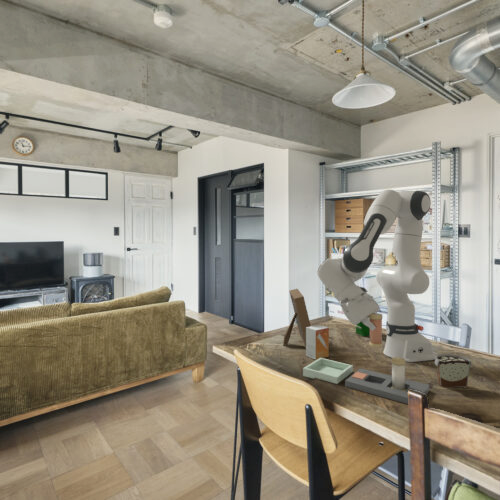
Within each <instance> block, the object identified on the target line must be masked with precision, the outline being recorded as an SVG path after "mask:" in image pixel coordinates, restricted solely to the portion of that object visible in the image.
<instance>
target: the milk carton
mask: <svg viewBox="0 0 500 500" xmlns="http://www.w3.org/2000/svg"><path fill="white" fill-rule="evenodd" d="M370 296H371V297H372V298H373V299H374V296H372V295H370ZM368 319H369V321H370V318H369V317H368ZM355 334H358V335H360V336H362V337H370V328H369V327H368V326H366V325H364V324H363V323H362V322H360V323H358V324H356V325H355Z"/></svg>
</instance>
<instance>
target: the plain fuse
mask: <svg viewBox="0 0 500 500" xmlns="http://www.w3.org/2000/svg"><path fill="white" fill-rule="evenodd" d="M390 358H391V357H390ZM390 362H391V376H392V387H391V388H394V389H398V390H401V391H405V379H406V372H405V371H406V370H405V369H406V361H405V359H403V358H399V357H393V358H391V360H390Z"/></svg>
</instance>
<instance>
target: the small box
mask: <svg viewBox="0 0 500 500" xmlns="http://www.w3.org/2000/svg"><path fill="white" fill-rule="evenodd" d="M329 331H330V327H328V326H326V325H325V326H324V325H322V324H316V325H311V326H310V327H306V347H305V356H306V357H308V358H310V359H312V360H314V361H316V360H317V359H319V358H324V359H325V358H326V357H327V358H328V357H329V354H330V352H329V349H330V348H329V347H330V346H329V344H330V341H329V339H330V332H329Z"/></svg>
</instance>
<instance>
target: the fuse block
mask: <svg viewBox="0 0 500 500" xmlns="http://www.w3.org/2000/svg"><path fill="white" fill-rule="evenodd" d="M344 387H346V388H350V389H354V390H357V391H360V392H364V393H367V394H370V395H373V396H379V397H381V398H385V399H388V400H392V401H396V402H399V403H403V404H405V405H409V404H408V395H407V392H408V390H409V389H412V390H417V391H420V392H422V393H425V394H426V396H427V395H428V393H429V391H430V384H427V383H424V382H419V381H414V380H410V379H406V378H405V391H401V390H398V389H394V388H391V387H392V375H390V374H386V373H381V372H377V371H373V370H369V369H366V368H359V369H357V370H356V371H355V372H354V373H352V374H350V375H349V377H348V378H346V379H344Z"/></svg>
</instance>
